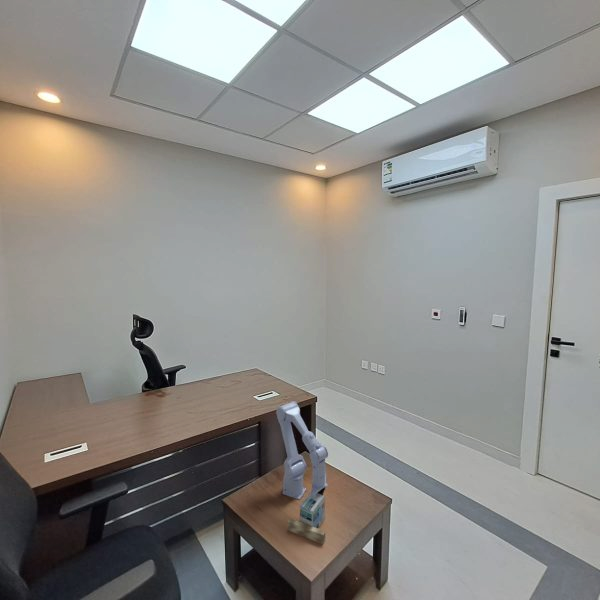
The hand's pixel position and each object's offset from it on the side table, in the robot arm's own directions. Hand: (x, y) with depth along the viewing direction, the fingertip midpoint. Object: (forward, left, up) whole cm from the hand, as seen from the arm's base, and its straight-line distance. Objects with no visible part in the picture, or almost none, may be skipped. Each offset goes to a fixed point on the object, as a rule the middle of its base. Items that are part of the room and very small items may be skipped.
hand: (319, 501), depth 143 cm
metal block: (0, -14, -5) cm, 15 cm away
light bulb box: (0, -7, -5) cm, 9 cm away
